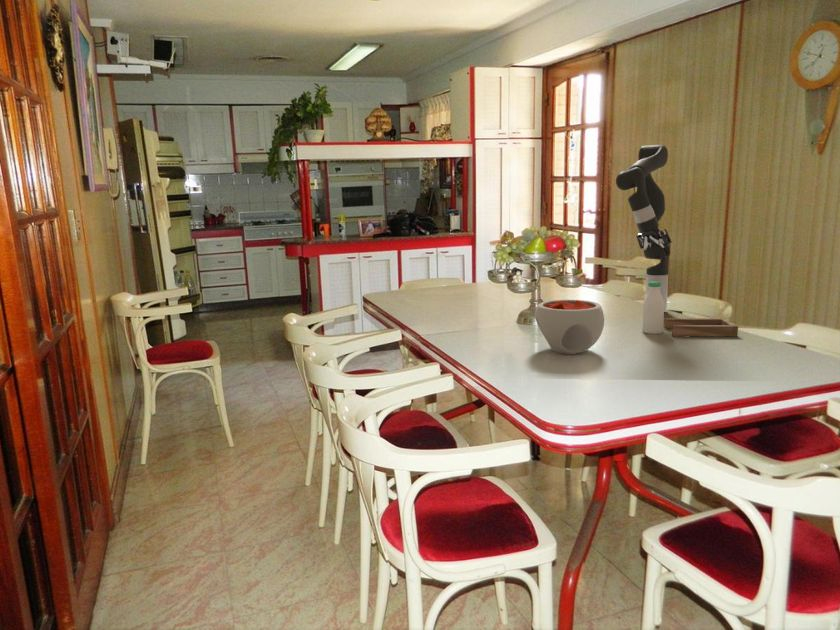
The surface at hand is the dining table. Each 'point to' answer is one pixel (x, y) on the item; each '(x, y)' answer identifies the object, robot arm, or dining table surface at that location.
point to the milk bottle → (653, 310)
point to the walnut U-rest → (700, 327)
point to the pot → (570, 324)
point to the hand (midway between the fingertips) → (659, 256)
